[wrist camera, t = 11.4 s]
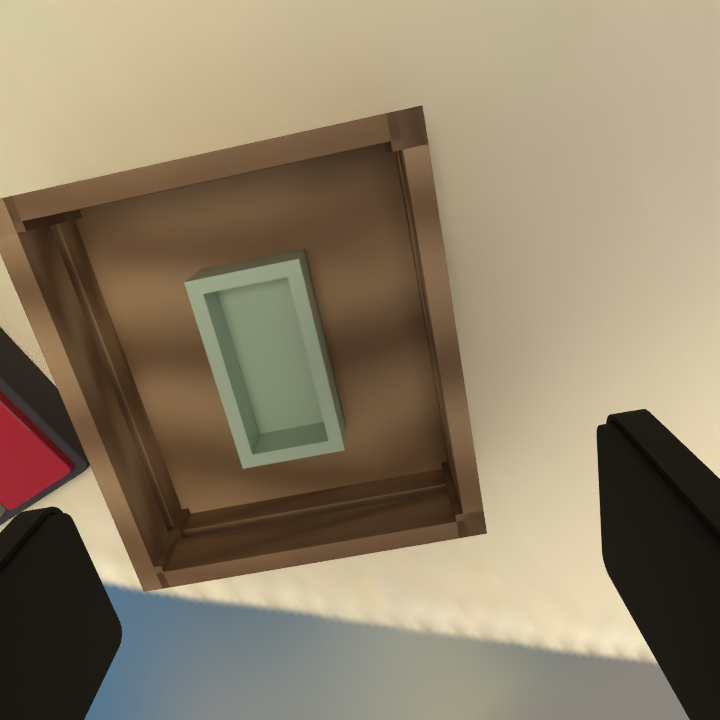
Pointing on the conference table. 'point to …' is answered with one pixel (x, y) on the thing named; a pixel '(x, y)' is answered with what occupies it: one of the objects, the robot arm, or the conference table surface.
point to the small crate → (269, 357)
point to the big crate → (192, 368)
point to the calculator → (32, 434)
